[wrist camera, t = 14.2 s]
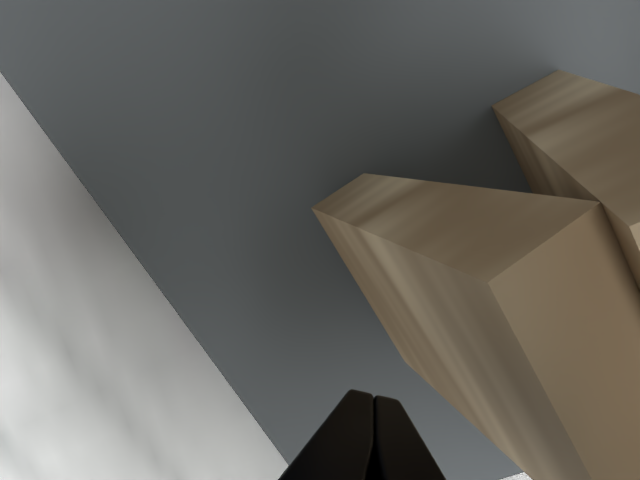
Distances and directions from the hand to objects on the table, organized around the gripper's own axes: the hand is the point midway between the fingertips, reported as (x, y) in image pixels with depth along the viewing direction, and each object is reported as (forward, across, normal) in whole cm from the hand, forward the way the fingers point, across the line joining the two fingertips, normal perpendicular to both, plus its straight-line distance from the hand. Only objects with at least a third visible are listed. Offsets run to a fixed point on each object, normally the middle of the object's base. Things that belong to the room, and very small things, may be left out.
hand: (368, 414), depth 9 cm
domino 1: (+6, 0, 0) cm, 6 cm away
